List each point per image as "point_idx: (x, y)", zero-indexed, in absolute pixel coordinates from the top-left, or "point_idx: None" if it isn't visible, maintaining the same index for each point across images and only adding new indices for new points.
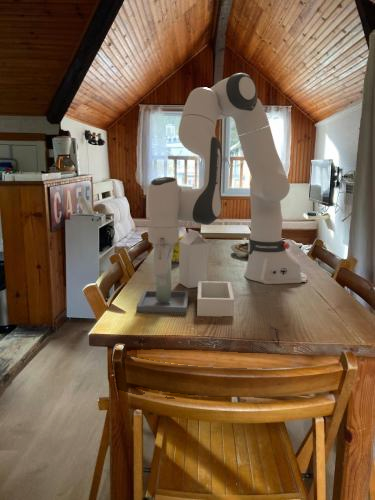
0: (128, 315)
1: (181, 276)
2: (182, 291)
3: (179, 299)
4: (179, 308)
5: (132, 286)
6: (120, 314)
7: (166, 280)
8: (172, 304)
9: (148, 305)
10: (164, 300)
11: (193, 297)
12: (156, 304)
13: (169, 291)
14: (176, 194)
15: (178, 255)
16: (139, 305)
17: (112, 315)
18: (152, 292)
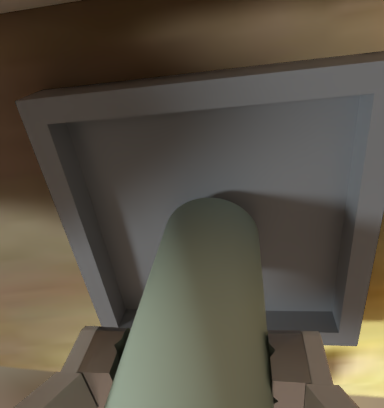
0: (374, 338)
1: None
2: (43, 145)
3: (136, 144)
4: None
5: (19, 358)
6: (359, 362)
7: (259, 350)
8: (236, 175)
9: (347, 302)
10: (257, 235)
11: (30, 50)
12: None
13: (232, 246)
14: None
15: None
16: (344, 336)
17: (368, 381)
18: (112, 300)
